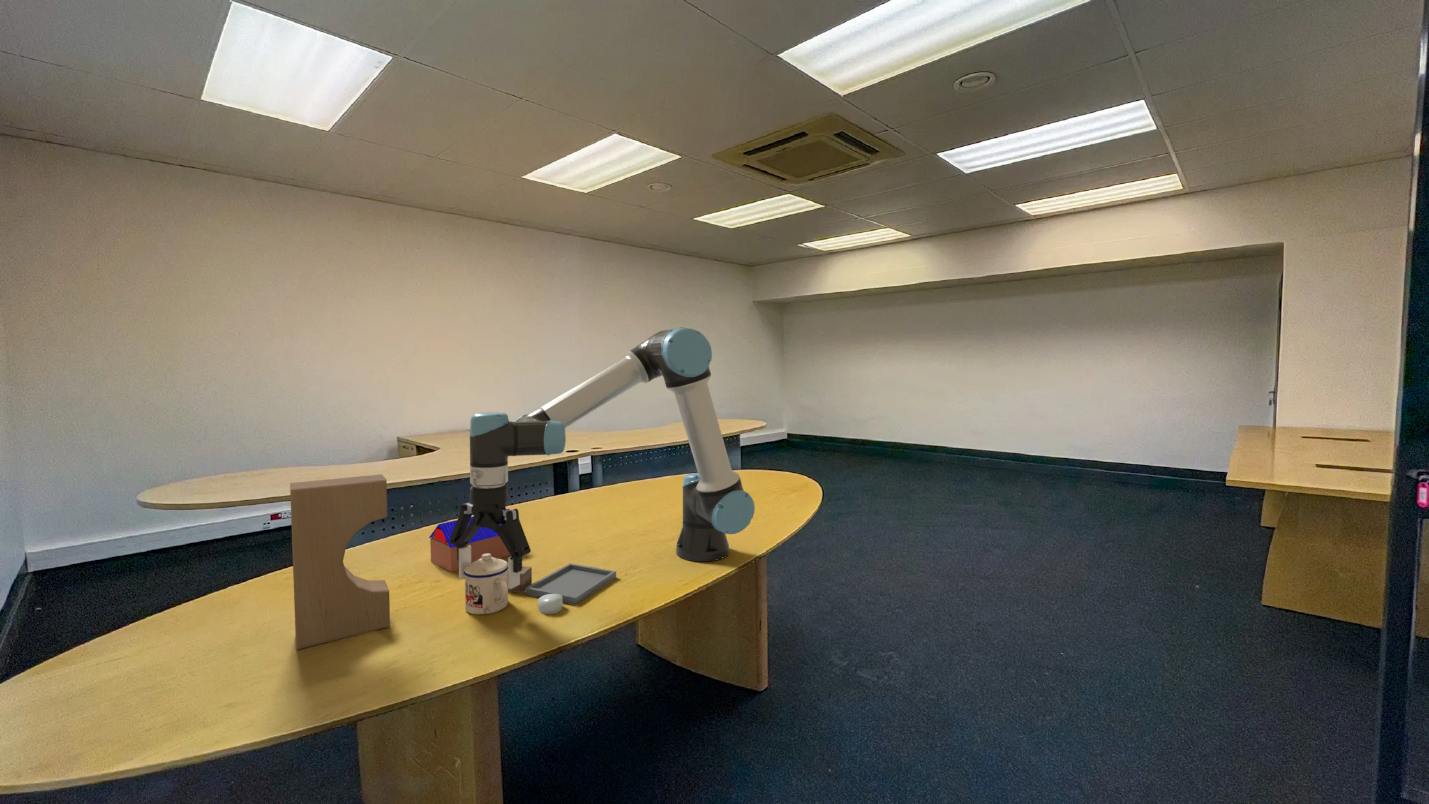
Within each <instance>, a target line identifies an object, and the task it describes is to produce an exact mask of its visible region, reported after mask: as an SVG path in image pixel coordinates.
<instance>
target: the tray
mask: <svg viewBox="0 0 1429 804" xmlns="http://www.w3.org/2000/svg"><path fill="white" fill-rule="evenodd" d="M614 579H617V571H616V570H610V569H605V568H599V567H593V566H588V565H583V564H576V563H572V562H571V563H570V562H569V563H567V564H565V565H563V566H562V567H559V568H558V569H557V570H555V571H552V572H551V573H549V574H547V575H545V576H544V577H542V578H540V579H538V580H536V581H535V582H532V584H531V585H529V586H527V587H525V591H524V595H525V596H530V597H535V598H538V599H539V598H540V597H542V596H544V595H547V594H559V595H561V596H562V597H563V603H564V604H569V605H573V606H576V605H578V604H579V603H581V602H582V601H584V600H585V599H586V598H587V599H588V597H590V596H591V595H593V594H594V593H595V592H597V591H599V590H600V589H602V588H603V587H604V586H606V585H607V584H609V583H610V582H612V581H613V580H614Z"/></svg>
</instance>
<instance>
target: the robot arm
mask: <svg viewBox="0 0 1429 804" xmlns="http://www.w3.org/2000/svg"><path fill="white" fill-rule="evenodd" d="M712 357H713V351H712V347H711V344H710V341H709V340H708V339H707V337H706V336H705V335H704V334H703V333H702V332H700V331H699V330H697V329H694V328H691V327H676V328H671V329H665V330H660V331H658V332H656V333H654V334H653V335H651V336H649V337H648V338H647V339H645V340H644V341H643V342H641V343H640V344H637V345H636V346H635V347H633V348H632V349H630V350H629V351H627V352H626V354H625V357H624V358H622V359H620V360H618V361H617V362H616V363H613V364H612V365H610V366H609V367H607V368H605V369H604V370H602V371H600V372H599V373H597V374H595V375H593V376H592V377H590V378H588V379H586V380H585V381H583V382H581V383H580V384H578V385H576V386H575V387H573V388H571V389H570V390H567V391H566V392H564V393H563V394H560V395H559V396H558V397H556V398H554V399H552V400H551V401H549V402H547V403H546V404H544V405H542V406H541V407H539V408H537V409H535V410H534V411H531V413H529V414H524V415H521V416H520V417H517V419H516V420H515V421H511V420H509V415H508V414H507V413H505V412H499V411H498V412H494V411H492V412H491V411H489V412H488V411H487V412H485V411H484V412H477V413H474V414H473V415H472V416H471V417H470V425H469V427H470V428H469V476H470V477H469V484H470V485H471V486H470V487H469V502H467V503H463V504H461V505H460V506H459V507H460V508H459V515H458V517H457V519H456V520H457V522H456V525H455V527H454V529H453V532H452V534H451V537H450V539H449V542H450V544H455V546H456V547H457V560H458V561H459V570H458V578H459V579H465V574H464V569H465V567H466V566H467V565H468V564H470V563H471V546H470V545H468V546H466V545H467V544H470V543H469V542H470V540H471V539H472V538H473V536H474V535H475V534H476V532H477V531H478V530H479V528H480V527H481V528H484V527H486V528H488V529H493V530H494V532H496V533H498V535H499V537H500V538H501V540H502V542H503V543H504V545H505V547H506V548H507V550H508V552H509V553H510V555H509V556H510V557H508V558H507V563H508V588H509V589H512V588H514V587H516V586H518V585H520V571H522V566H523V556H526V555H529V554H530V553H531V552H532V550H531V547H530V545H529V542H528V539H527V536H526V534H525V531H524V528H523V525H522V523H521V521H520V514H519V513H520V512H519V509H518V508H514V509H510V510H506V509H507V507H506V503H507V501H508V499H509V497H508V496H509V493H508V492H509V486H508V484H507V483H508V482H509V471H508V469H509V466H508V465H509V464H508V463H509V457H516V456H517V457H519V456H521V457H523V456H545V455H546V456H550V455H559V454H562V453H563V452H564V451H565V448H566V442H567V441H566V440H567V439H566V438H567V437H566V436H567V435H566V429H567V427H569V426H571V425H573V424H575V423H576V422H577V421H579V420H581V419H582V418H584V417H586V416H588V415H589V414H591V413H593V412H594V411H596V410H597V409H599V408H601V407H602V406H604V405H605V404H607V403H609V402H610V401H612V400H613V399H616V398H617V397H619V396H620V395H622V394H624V393H625V392H627V391H629V390H630V389H633V388H634V387H636V386H637V385H638V384H640V383H643V384H648V383H649V382H651V381H653V380H654V379H657V378H660V377H663V380H664V381H663V382H664V384H665V386H666V387H665V388H666V389H667V390H669V391H670V392H672V393H673V394H674V396H675V400H676V402H677V407H678V409H679V413H680V417H681V420H682V423H683V427H684V429H685V433H686V437H687V440H688V443H689V447H690V450H691V454H692V457H693V460H694V464H695V467H696V470H697V472H696V473H694V472H693V473H688V474H685V475H684V477H683V482H682V527H681V529H680V533H679V535H678V539H677V542H676V545H675V550H676V551H675V552H676V555H677V556H678V557H679V558H681V559H684V560H687V561H692V562H713V560H715V561H717V560H716V559H719V560H722V559H723V558H722V557H725V556H726V555H727V556H728V555H729V554H730V544H729V541H728V538H727V535H736V534H738V533H740V532H742V531H744V530H745V529H746V528H747V527H748V526H749V525H750V524H751V521H752V519H753V518H754V515H755V511H756V507H755V502H754V499H753V497H752V496H751V495H750V494H749V492H747V491H745V490H744V488H743V484H742V480H741V477H740V474H739V473H737V472H736V471H734V470H733V469H732V466H731V463H730V459H729V456H728V453H727V449H726V445H725V442H724V441H725V440H724V438H723V435H722V434H723V433H722V431H721V427H720V424H719V420H718V417H717V413H716V409H715V406H714V402H713V399H712V396H711V392H710V388H709V384H708V383H709V381H710V380H711V377H712V373H711V369H710V365H711V362H712ZM472 515H473V516H474V518H473V519H472V520H471V522H470V523H469V521H470V518H471V517H473V516H472ZM468 523H469V526H468ZM501 523H502V525H501V526H500V524H501ZM467 526H468V527H467ZM466 528H467V529H466ZM515 550H516V551H515ZM728 553H729V554H728ZM727 556H726V557H727ZM726 557H725V558H726ZM721 558H722V559H721Z"/></svg>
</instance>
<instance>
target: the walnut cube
mask: <svg viewBox="0 0 1429 804" xmlns="http://www.w3.org/2000/svg"><path fill="white" fill-rule="evenodd" d="M532 571H533V570H532V566H525V565H524V566H523V565H522V571H520V585H518V586H516V587H514V588H512V589H509V588H508V593H509V592H512V593H525V587H527V586H529V585H531V584H533V581H532V580H533V579H532V577H533V576H532V574H533V573H532Z"/></svg>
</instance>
